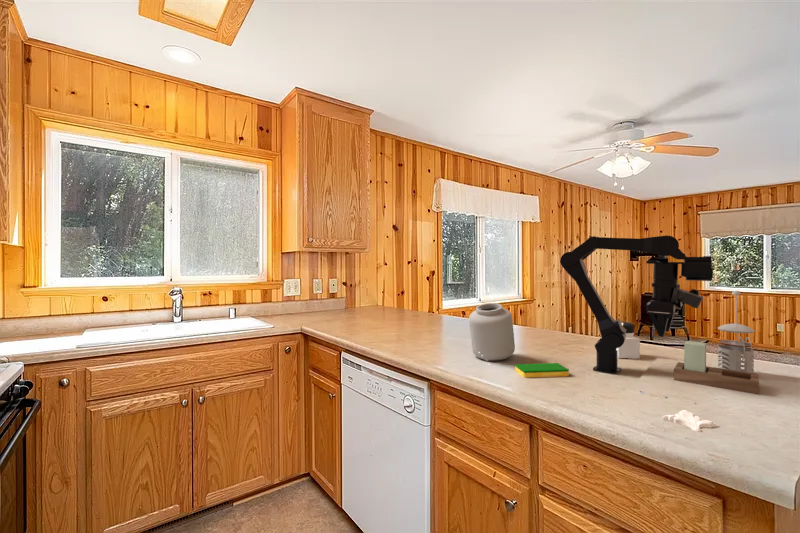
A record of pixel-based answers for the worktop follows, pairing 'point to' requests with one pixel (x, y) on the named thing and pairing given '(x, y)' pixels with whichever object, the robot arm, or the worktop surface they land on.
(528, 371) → the dish sponge
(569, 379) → the worktop surface
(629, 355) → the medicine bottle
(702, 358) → the green block
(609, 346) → the robot arm
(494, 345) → the jar
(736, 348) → the french press
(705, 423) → the acanthus leaf ornament
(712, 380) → the pocket holder
